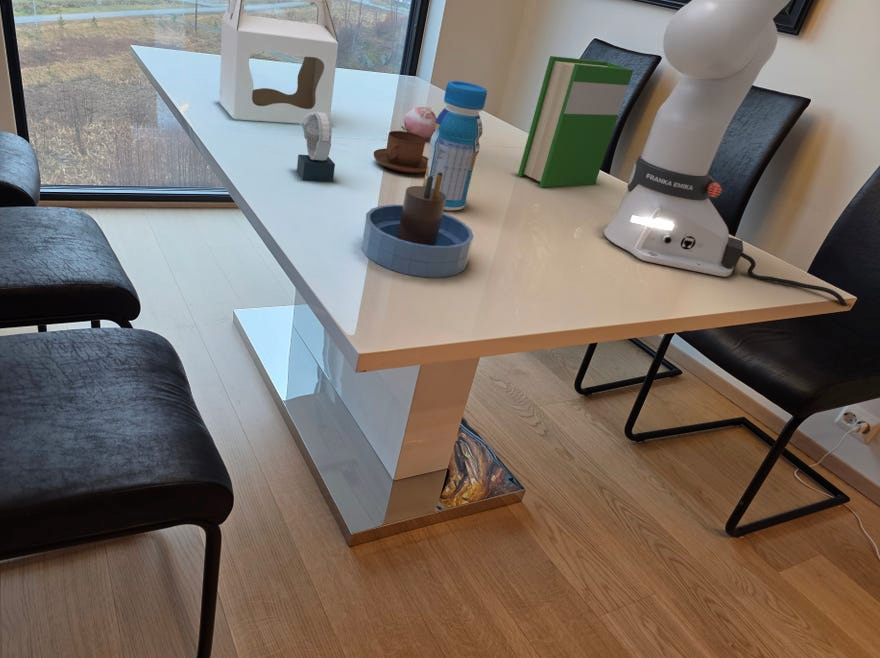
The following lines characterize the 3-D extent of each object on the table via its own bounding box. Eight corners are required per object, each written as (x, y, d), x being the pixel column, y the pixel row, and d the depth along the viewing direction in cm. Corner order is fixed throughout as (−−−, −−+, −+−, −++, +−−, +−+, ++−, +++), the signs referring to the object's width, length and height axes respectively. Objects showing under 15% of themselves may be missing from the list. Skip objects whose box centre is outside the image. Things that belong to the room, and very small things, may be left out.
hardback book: (542, 187, 139) (578, 64, 126) (517, 175, 144) (550, 56, 131) (595, 183, 149) (633, 69, 136) (570, 172, 154) (605, 61, 141)
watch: (323, 169, 123) (330, 108, 117) (335, 184, 117) (343, 120, 111) (293, 168, 121) (299, 105, 115) (304, 183, 115) (311, 118, 109)
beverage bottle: (436, 213, 114) (462, 90, 103) (410, 195, 119) (432, 77, 109) (474, 211, 118) (503, 93, 108) (447, 193, 124) (472, 80, 113)
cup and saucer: (426, 182, 128) (433, 150, 125) (366, 168, 128) (371, 136, 125) (434, 166, 138) (440, 136, 135) (378, 154, 139) (383, 123, 135)
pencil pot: (437, 252, 98) (455, 169, 91) (427, 265, 93) (446, 179, 86) (401, 242, 98) (416, 159, 92) (390, 254, 94) (405, 168, 87)
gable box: (311, 110, 161) (324, -22, 146) (330, 126, 151) (346, -13, 137) (218, 103, 151) (222, -39, 136) (232, 119, 141) (238, -31, 127)
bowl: (473, 253, 101) (481, 222, 99) (452, 292, 88) (461, 257, 86) (379, 227, 103) (384, 196, 101) (345, 261, 91) (350, 227, 88)
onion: (409, 141, 152) (414, 109, 148) (395, 131, 158) (400, 100, 154) (439, 143, 155) (446, 111, 152) (425, 133, 161) (431, 102, 157)
